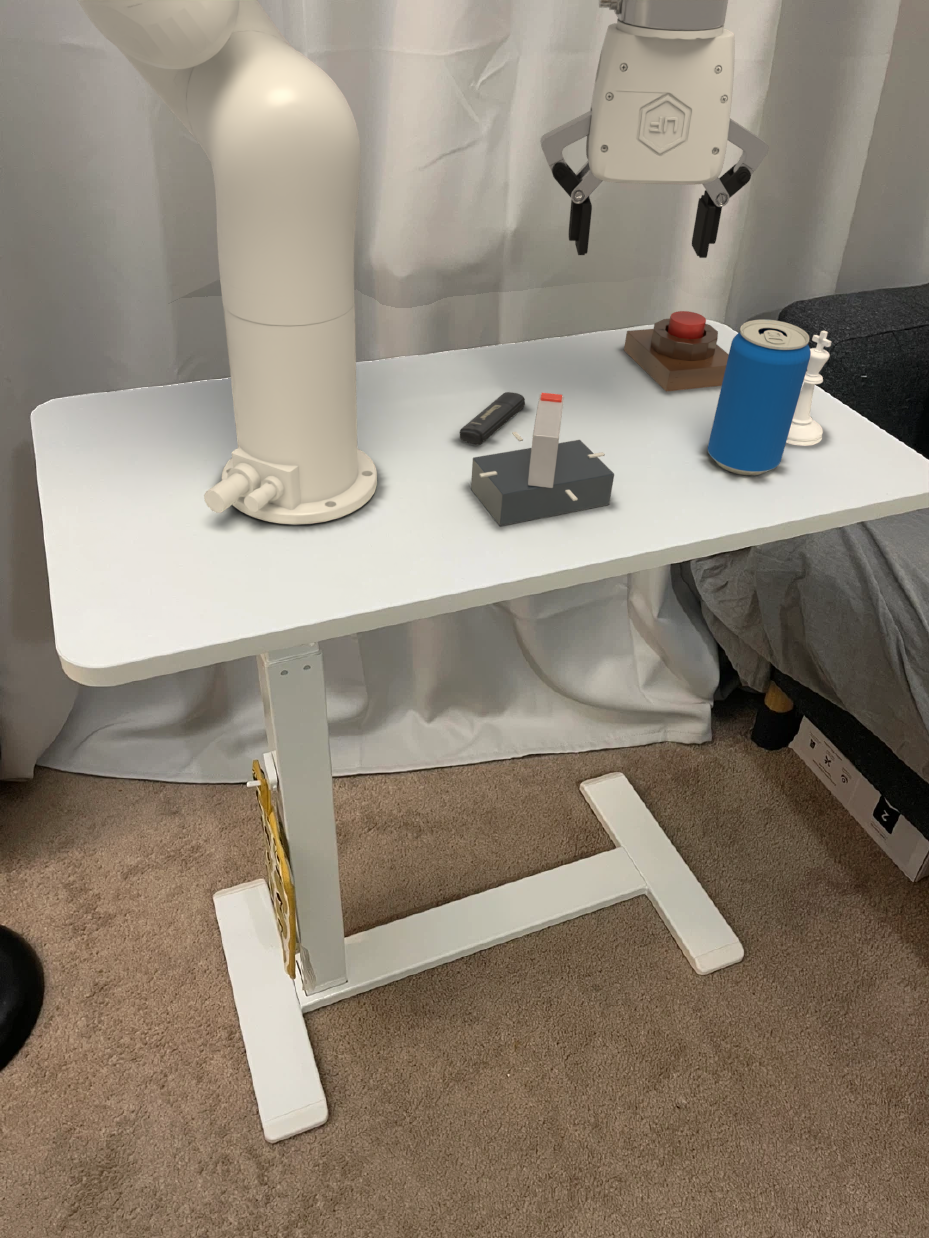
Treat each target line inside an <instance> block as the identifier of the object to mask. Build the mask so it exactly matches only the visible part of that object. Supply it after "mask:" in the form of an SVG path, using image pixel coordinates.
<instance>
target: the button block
mask: <svg viewBox="0 0 929 1238" xmlns="http://www.w3.org/2000/svg"><path fill="white" fill-rule="evenodd" d="M669 321H670V318H663V319H660V320H658V321H657V322H655V323H654V324H653V328H647V329H634V330H627V331H626V335H625V340H624V346H623V351H624V352H625V353H626V354H627V355H628V356H629V357H630V358H631V359H632V360H633V361H634V362H635V363H636V364H637V365H638V366H639V367H640V368H641V369H642V370H643V371H644V372H646V374H647V375H649V376H650V377H651V379H653V381H655V382H656V384H658V386H660V387H661V388H662V389H663V390H664V391H665V392H666V393H667V392H675V391H685V390H694V389H695V390H696V389H703V388H704V389H705V388H713V387H714V388H715V387H722V382H723V378H724V373H725V369H726V365H727V360H728V356H729V352H727V351H726V350H724V349H723V348H722V347H721V346H720V345H718V344H717V343H718V339H719V331H718V330H717V329H716V328H714V327H713V326H712V325H710V324H708V323H706V324H705V328H704V333H703V337H702V338H699V339H684V338H678V337H676V336H673V335H670V334H669V333H668V326H669Z"/></svg>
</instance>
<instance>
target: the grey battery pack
mask: <svg viewBox="0 0 929 1238" xmlns="http://www.w3.org/2000/svg"><path fill="white" fill-rule="evenodd" d="M564 402H565V397H564V396H563V394H561V393H552V392H551V393H549V392H541V393H540V394H539V396H538V402H537V407H536V408H537V409H536V414H535V419H534V420H535V421H534V425H533V432H532V438H531V439H532V440H531V447H530V448H531V458H530V467H529V477H528V485H529V486H538V487H547V488H553V483H554V475H555V467H556V459H557V451H558V443H560V436H561V435H560V433H561V425H562V419H563V418H562V416H563V409H564Z"/></svg>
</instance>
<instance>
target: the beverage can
mask: <svg viewBox="0 0 929 1238" xmlns="http://www.w3.org/2000/svg"><path fill="white" fill-rule="evenodd" d="M809 342H810V335H809V334H808V332H806V331H805V330H804V329H803V328H800V327H799V326H797V325H795V324H792V323H788V322H785V321H780V320H775V319H754V320H748V321H746V322H744V323H743V324H741V326H740V328H739V332H738V333H737V334H736V335H734V336H733V338H732V340H731V343H730V347H729V351H728V354H729V356H728V360H727V365H726V369H725V373H724V378H723V382H722V386H720V391H719V396H718V399H717V405H716V409H715V413H714V418H713V421H712V427H711V431H710V435H709V439H708V445H707V453H708V454H709V456H710V457H711V458H712V459H713V461H715V463H716V464H717V465H718V466H719V467H720V468H722V469H723V470H726V471H728V472H731V473H732V474H737V475H741V476H742V475H743V476H757V475H762V474H765V473H767V472H768V471H772V470H774V469H776V468H777V467H779V465H780V464H781V462H782V458H783V455H784V451H785V447H786V444H787V443H786V441H787V438H788V434H789V430H790V427H791V423H792V420H793V416H794V413H795V409H796V406H797V402H798V399H799V395H800V392H801V389H802V387H803V384H804V382H803V381H804V377H805V374H806V371H807V367H808V363H809V360H810V356H811V351H810V349H811V347H810V346H809Z"/></svg>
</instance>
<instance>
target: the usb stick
mask: <svg viewBox="0 0 929 1238" xmlns="http://www.w3.org/2000/svg"><path fill="white" fill-rule="evenodd" d="M525 405H526V398H525V397H524V396H523V394H520V393H518V392H511V391H506V392H503V393H502V394H500V395H499V396H498V397H497V398H496V399H495V400H493V402H491V403H490V404H489V405H488V406H487V407H486V408H484V409H483V410H482V411H481V412H479V413H478V414H477V415H475V417H473V418H472V419H471V420H470V421H469V422H467V423H466V424H465V425H464V426H463V427H462V428H460V429H459V439H460V440H461V441H463V442H465V443H467V444H470V445H473V446H474V445H475V446H478V445H479V446H480V445H482V444H483V443H484V442H486V441H487V440H488V439H489V438H491V437H492V436H493V435H494V434H495V433H496V432H497V431H498V430H500V429H501V428H502V427H504V425H505V424H506V423H508V422H509V421H510V420H511V419H512V418H514V417H515V416H516V415H517V414H518V413H519V412H520V411H521V410H522V409H523V408H525Z"/></svg>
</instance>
